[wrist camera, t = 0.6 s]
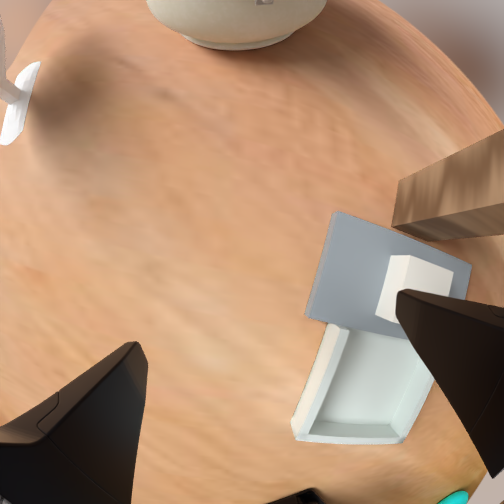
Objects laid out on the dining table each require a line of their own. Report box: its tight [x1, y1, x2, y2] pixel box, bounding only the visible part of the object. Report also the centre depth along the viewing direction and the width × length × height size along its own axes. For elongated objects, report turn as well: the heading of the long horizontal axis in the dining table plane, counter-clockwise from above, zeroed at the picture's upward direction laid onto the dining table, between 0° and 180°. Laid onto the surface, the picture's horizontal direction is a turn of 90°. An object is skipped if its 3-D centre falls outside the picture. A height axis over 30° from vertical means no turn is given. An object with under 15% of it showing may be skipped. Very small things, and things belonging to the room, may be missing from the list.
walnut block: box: [391, 129, 504, 241], centre depth 15 cm, size 4×4×15 cm
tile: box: [375, 255, 454, 324], centre depth 19 cm, size 5×5×3 cm
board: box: [304, 211, 472, 340], centre depth 22 cm, size 8×16×2 cm, turn 74°
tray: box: [290, 323, 434, 444], centre depth 21 cm, size 10×12×3 cm
